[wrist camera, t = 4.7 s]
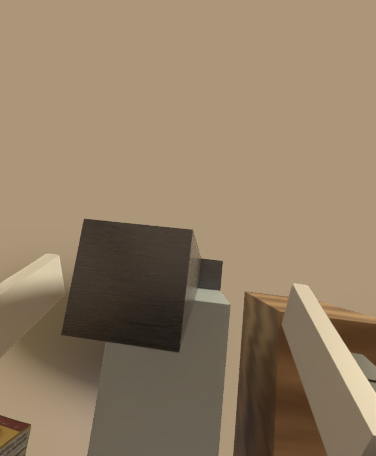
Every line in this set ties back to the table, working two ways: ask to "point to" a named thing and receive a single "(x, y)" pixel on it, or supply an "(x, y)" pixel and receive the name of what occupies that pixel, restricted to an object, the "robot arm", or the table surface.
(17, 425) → the candy box
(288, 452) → the walnut stand
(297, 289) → the robot arm
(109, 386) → the blue grey stand
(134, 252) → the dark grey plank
